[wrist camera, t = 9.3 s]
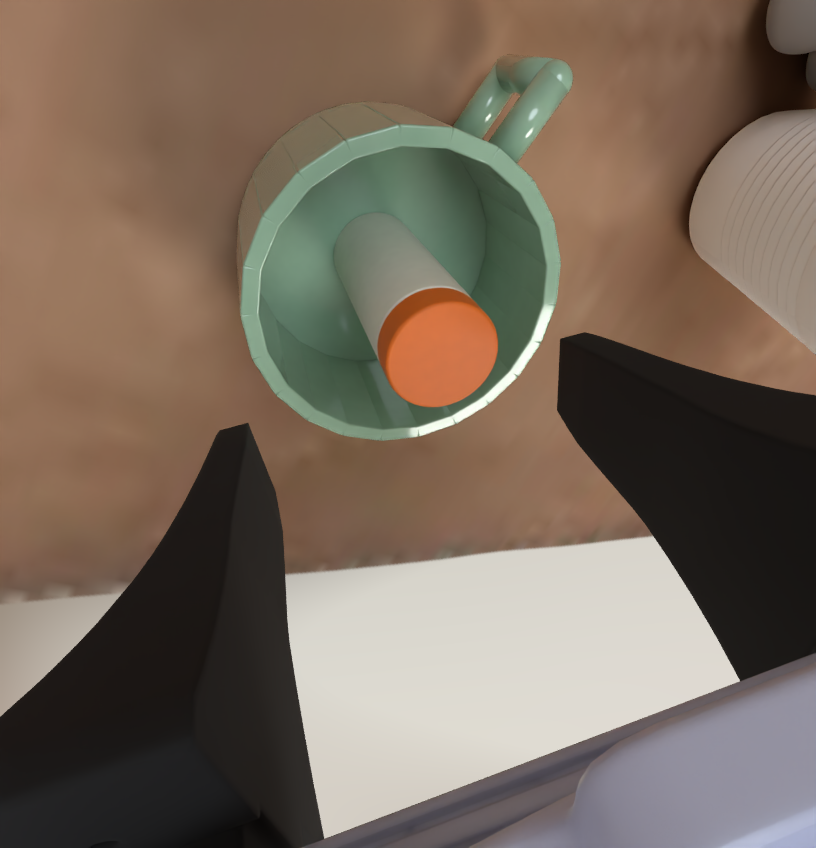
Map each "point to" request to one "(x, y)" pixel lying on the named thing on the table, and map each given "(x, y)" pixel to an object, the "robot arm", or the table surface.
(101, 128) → the table surface
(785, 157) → the cup
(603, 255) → the table surface
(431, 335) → the glue stick
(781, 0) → the chubby cartoon animal
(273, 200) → the mug
